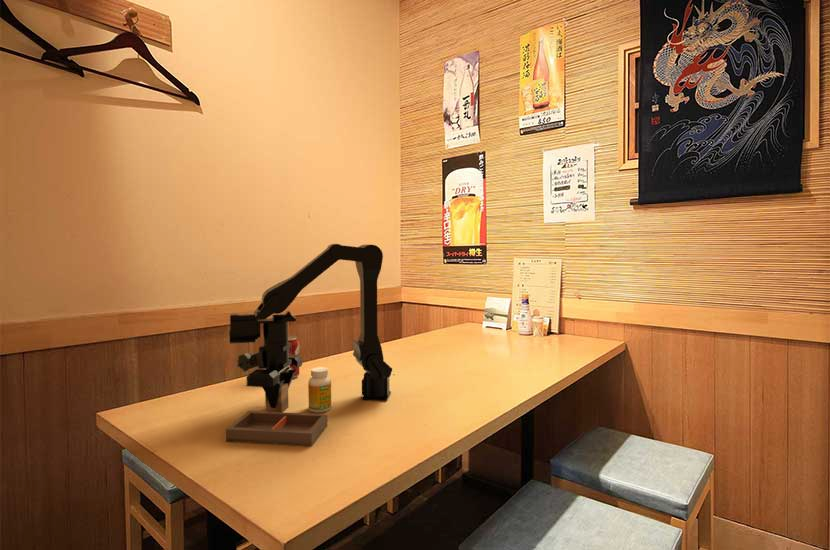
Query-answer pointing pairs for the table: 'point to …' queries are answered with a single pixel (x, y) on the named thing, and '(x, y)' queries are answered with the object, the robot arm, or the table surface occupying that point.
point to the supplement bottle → (319, 390)
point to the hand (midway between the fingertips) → (277, 404)
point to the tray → (277, 428)
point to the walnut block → (279, 400)
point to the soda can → (294, 351)
